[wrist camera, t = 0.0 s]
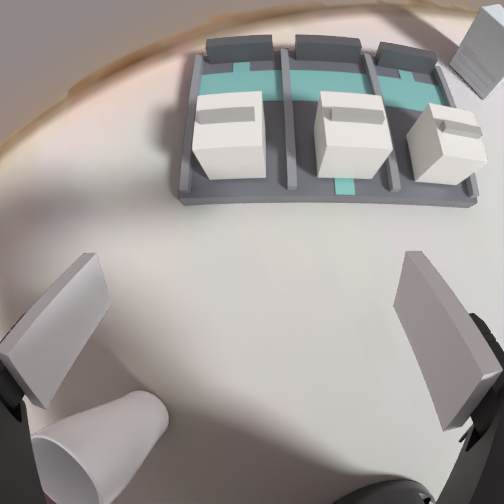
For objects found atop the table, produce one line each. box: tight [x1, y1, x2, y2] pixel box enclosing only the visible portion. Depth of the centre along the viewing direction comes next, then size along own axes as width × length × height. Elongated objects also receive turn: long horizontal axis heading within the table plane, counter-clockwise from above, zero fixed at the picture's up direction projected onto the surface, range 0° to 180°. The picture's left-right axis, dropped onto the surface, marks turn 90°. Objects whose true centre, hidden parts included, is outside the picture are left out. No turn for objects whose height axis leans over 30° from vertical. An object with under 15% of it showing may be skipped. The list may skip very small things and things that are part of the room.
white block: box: [406, 103, 488, 185], centre depth 22 cm, size 5×5×7 cm
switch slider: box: [192, 91, 266, 180], centre depth 23 cm, size 5×5×7 cm
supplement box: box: [449, 4, 504, 100], centre depth 23 cm, size 7×7×13 cm
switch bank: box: [178, 35, 479, 208], centre depth 27 cm, size 18×30×5 cm, turn 90°
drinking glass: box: [30, 391, 169, 504], centre depth 19 cm, size 7×7×15 cm
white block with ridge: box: [314, 91, 393, 179], centre depth 23 cm, size 5×5×7 cm
